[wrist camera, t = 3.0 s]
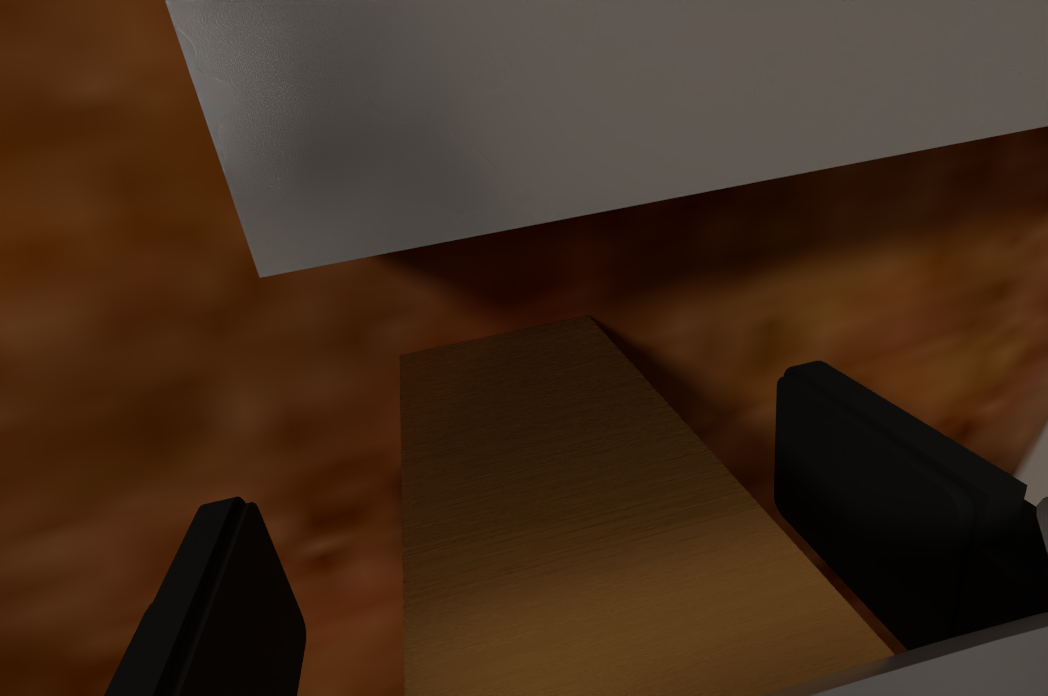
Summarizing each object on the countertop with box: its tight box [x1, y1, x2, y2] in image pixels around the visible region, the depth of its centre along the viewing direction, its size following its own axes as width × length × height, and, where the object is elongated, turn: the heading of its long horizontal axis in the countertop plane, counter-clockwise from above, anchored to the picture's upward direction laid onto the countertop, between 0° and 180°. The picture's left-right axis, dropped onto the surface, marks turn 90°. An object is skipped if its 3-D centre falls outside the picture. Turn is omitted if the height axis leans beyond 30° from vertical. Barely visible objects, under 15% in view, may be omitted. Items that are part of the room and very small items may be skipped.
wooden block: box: [399, 315, 895, 696], centre depth 9 cm, size 4×4×9 cm
